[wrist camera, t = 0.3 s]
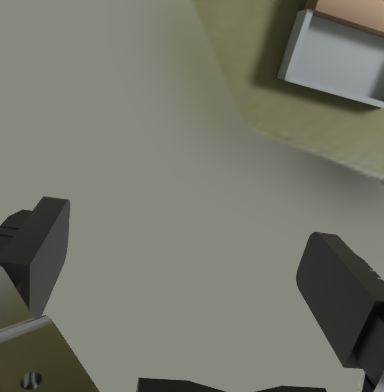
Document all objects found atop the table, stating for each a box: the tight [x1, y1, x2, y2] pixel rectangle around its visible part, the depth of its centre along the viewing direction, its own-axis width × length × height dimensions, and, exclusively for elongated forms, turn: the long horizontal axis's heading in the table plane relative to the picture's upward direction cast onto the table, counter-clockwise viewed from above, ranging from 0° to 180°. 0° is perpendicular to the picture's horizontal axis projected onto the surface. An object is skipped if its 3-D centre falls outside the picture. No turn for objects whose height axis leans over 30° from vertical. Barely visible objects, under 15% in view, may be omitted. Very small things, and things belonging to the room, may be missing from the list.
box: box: [276, 9, 384, 108], centre depth 36 cm, size 6×13×2 cm, turn 75°
